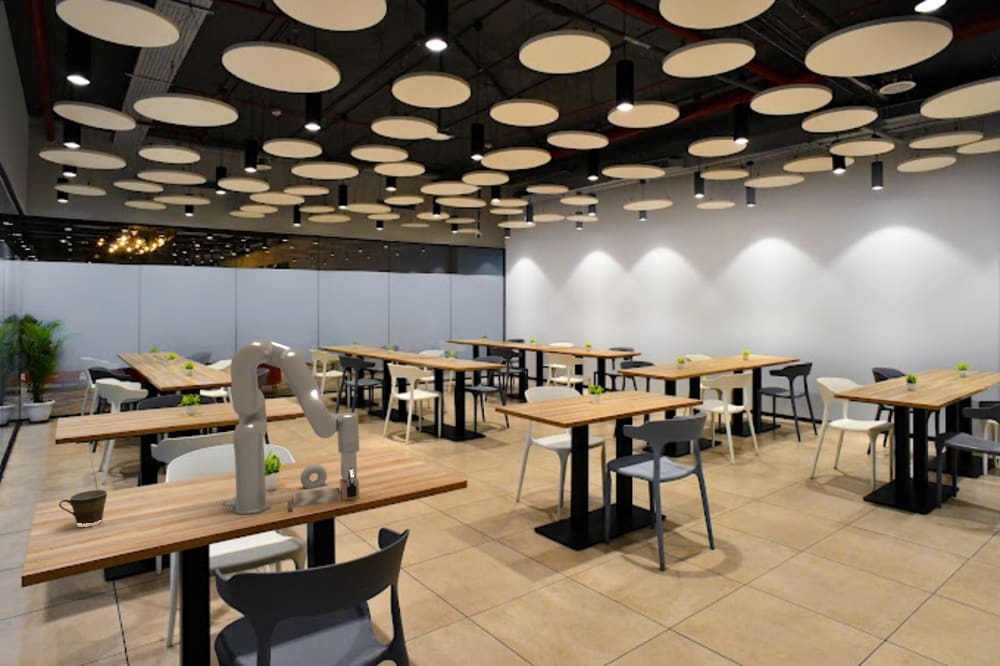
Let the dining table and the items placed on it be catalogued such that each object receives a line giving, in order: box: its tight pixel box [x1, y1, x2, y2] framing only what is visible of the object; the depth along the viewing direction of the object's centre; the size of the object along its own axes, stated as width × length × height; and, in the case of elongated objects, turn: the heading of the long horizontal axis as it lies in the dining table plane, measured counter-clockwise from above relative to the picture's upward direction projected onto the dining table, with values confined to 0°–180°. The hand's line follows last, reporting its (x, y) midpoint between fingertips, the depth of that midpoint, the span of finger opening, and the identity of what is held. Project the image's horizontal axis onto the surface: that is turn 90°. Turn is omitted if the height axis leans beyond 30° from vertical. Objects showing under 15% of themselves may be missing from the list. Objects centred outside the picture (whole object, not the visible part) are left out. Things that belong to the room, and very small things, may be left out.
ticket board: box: [286, 487, 342, 513], centre depth 213 cm, size 36×10×4 cm, turn 111°
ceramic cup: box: [58, 489, 108, 524], centre depth 192 cm, size 13×10×10 cm
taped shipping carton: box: [339, 477, 360, 501], centre depth 214 cm, size 6×6×6 cm
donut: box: [300, 464, 328, 489], centre depth 227 cm, size 10×4×10 cm, turn 121°
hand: (350, 492), depth 214 cm, fingers open, 9 cm apart
